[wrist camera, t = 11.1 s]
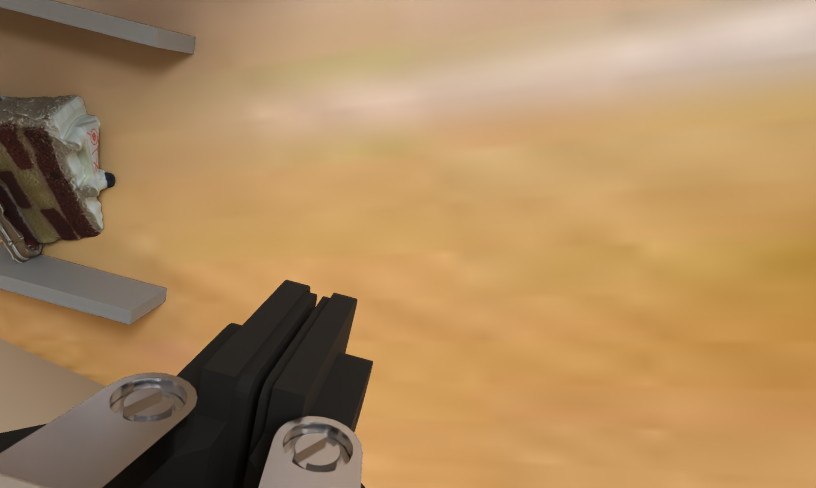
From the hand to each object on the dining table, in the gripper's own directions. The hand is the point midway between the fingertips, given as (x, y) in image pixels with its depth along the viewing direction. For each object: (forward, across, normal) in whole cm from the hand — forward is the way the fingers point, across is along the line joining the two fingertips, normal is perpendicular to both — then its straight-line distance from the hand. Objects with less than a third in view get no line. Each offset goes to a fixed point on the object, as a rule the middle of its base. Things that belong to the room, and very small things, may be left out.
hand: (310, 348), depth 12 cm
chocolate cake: (+22, +23, +5) cm, 32 cm away
